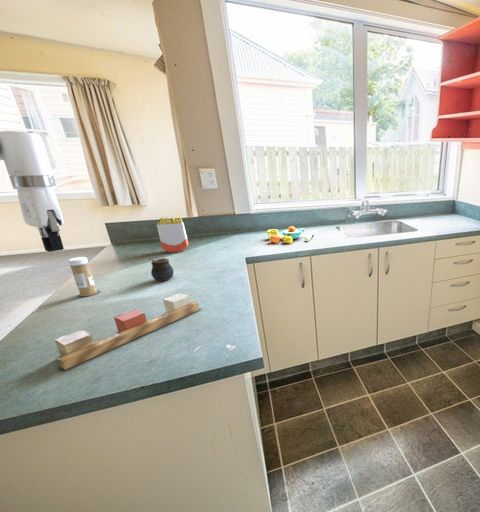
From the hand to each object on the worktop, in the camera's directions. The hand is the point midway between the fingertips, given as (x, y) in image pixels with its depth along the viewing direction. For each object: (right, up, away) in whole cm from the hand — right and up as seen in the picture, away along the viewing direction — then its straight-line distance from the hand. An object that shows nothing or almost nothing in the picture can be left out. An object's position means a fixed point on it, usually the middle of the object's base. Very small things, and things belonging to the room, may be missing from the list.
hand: (54, 250), depth 82 cm
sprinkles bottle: (-14, -15, +23) cm, 31 cm away
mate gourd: (+3, -11, +37) cm, 39 cm away
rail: (+24, -23, 0) cm, 34 cm away
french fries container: (-18, +1, +73) cm, 75 cm away
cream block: (+27, -19, +12) cm, 35 cm away
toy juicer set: (+37, +8, +97) cm, 104 cm away
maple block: (+16, -26, -9) cm, 32 cm away
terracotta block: (+21, -23, +1) cm, 31 cm away
